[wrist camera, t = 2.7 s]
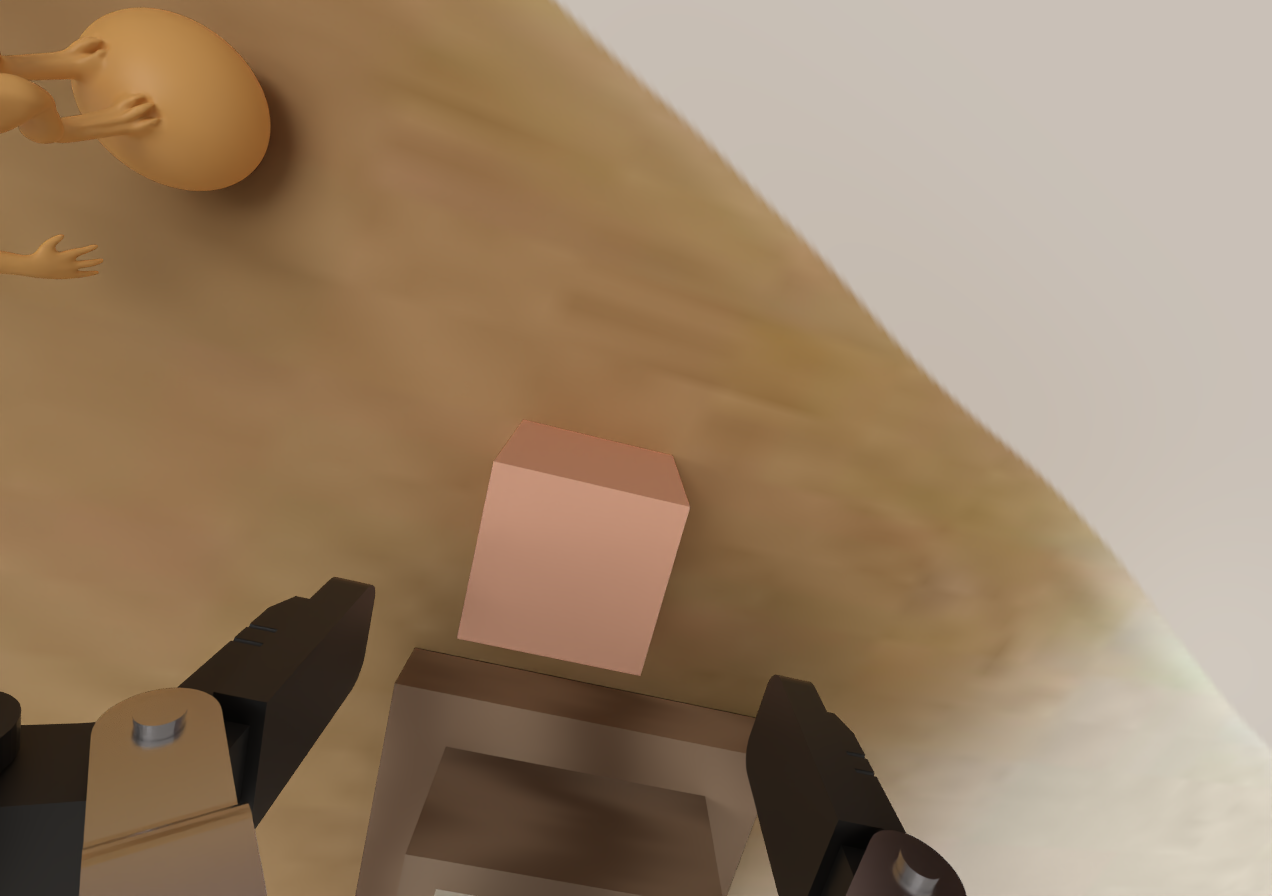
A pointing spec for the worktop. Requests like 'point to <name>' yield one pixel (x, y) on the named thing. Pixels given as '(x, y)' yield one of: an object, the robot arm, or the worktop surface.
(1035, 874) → the worktop surface
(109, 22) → the figurine
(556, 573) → the terracotta cube
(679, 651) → the worktop surface
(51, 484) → the worktop surface
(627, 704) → the walnut plinth
